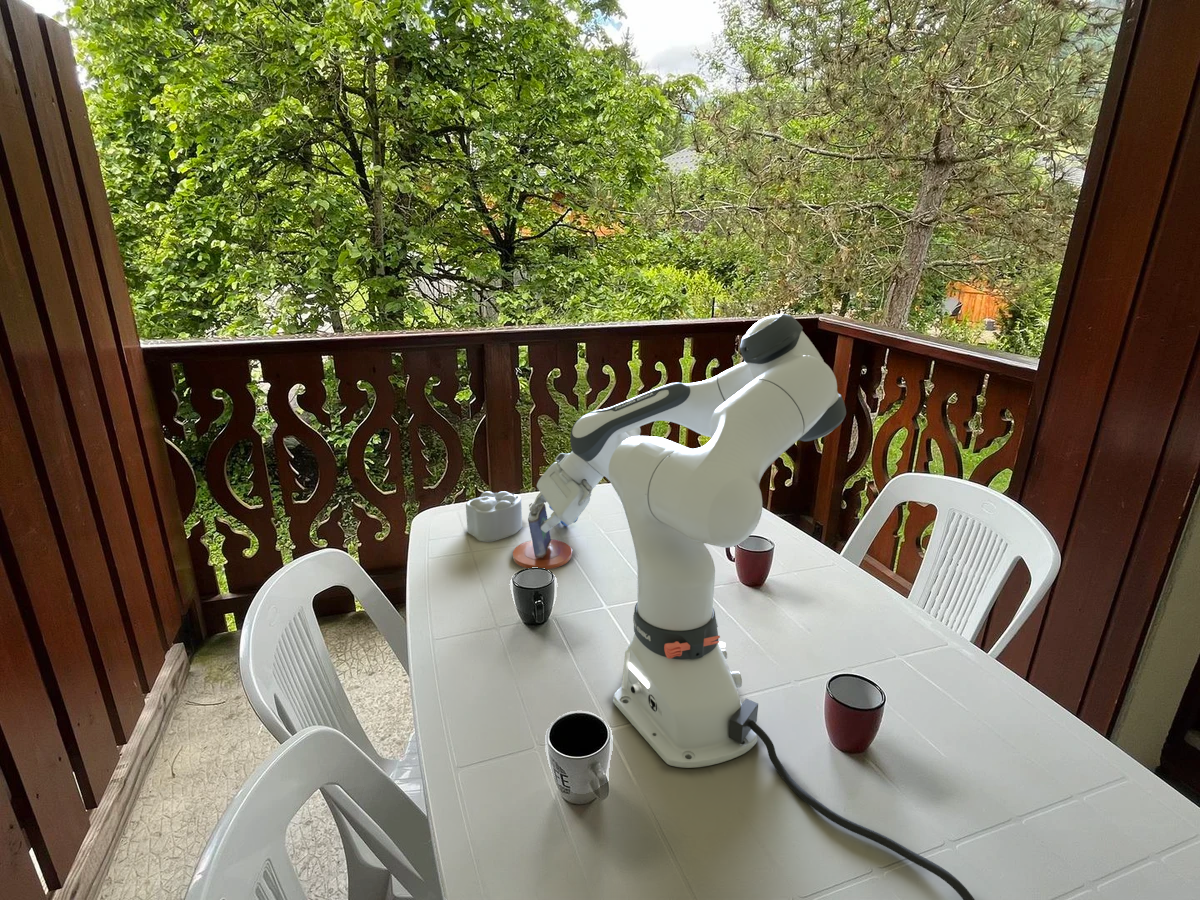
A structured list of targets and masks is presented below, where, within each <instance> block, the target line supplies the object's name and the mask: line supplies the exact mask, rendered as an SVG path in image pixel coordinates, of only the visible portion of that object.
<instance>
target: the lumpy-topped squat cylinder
mask: <svg viewBox="0 0 1200 900" xmlns="http://www.w3.org/2000/svg"><path fill="white" fill-rule="evenodd" d="M522 509H523V508H522V497H521V496H520V495H518V494H515V493H510V492H508V491H505V490H504V491H499V492H492V491H489V490H488V491H487V490H486V491H483V492H482V493H481V494H480V496H479V497H475V498H472V499H469V500H468V501H467V502H466V503H465V513H466V516H465V517H466V530H467V533H468V534H469V535H471V536H473V537H474V538H476V540H478V541H480V542H486V543H487V542H494V541H498V540H501V539H505V538H508V537H512V536H514V535H515V534H516V535H517V534H518V532H519V531H521V530H522V528H523V513H522V512H523V511H522Z"/></svg>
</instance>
